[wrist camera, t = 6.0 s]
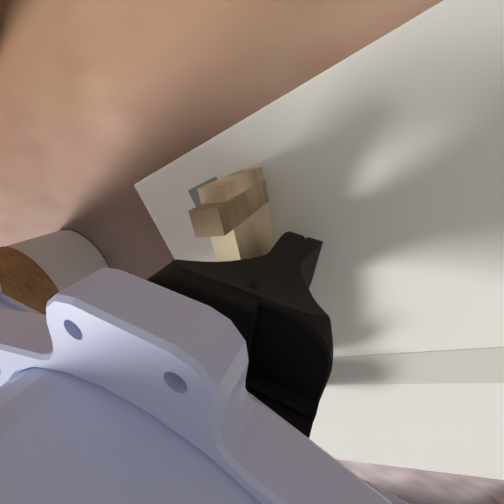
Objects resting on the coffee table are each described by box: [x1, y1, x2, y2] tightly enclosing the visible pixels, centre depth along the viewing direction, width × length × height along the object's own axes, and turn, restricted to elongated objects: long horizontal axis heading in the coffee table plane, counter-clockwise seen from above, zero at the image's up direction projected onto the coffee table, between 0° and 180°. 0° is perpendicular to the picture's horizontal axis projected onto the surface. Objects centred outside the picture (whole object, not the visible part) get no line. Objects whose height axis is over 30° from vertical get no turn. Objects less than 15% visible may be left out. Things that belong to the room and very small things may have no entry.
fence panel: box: [188, 167, 276, 262], centre depth 12 cm, size 10×1×4 cm, turn 13°
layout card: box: [134, 0, 504, 480], centre depth 14 cm, size 20×16×1 cm
